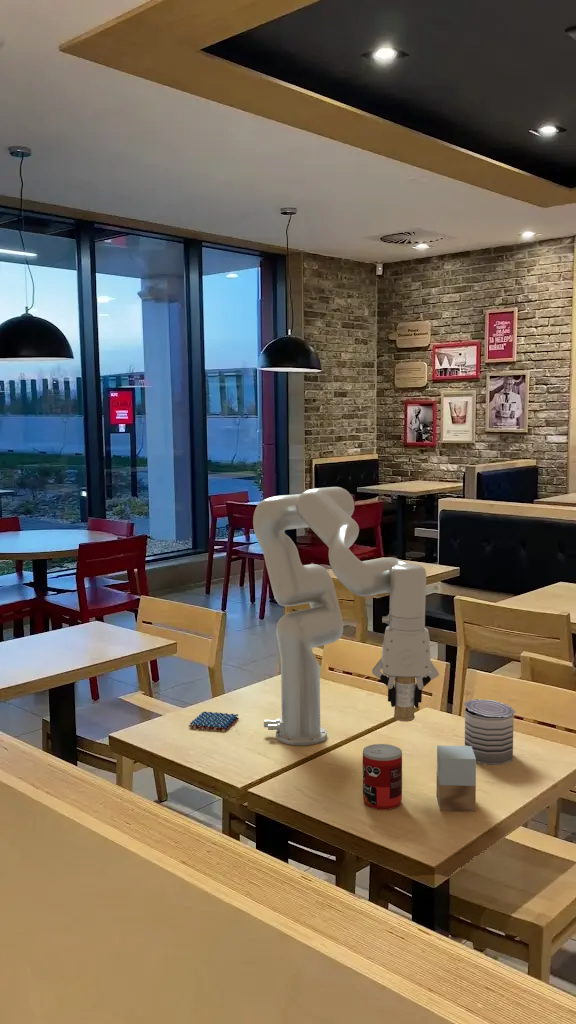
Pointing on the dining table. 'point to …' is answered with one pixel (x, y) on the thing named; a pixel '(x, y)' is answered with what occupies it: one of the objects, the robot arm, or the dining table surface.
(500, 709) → the can
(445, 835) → the dining table surface
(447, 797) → the tower base slab
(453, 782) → the pale grey-blue cube
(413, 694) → the sprinkles bottle
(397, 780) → the canned food
